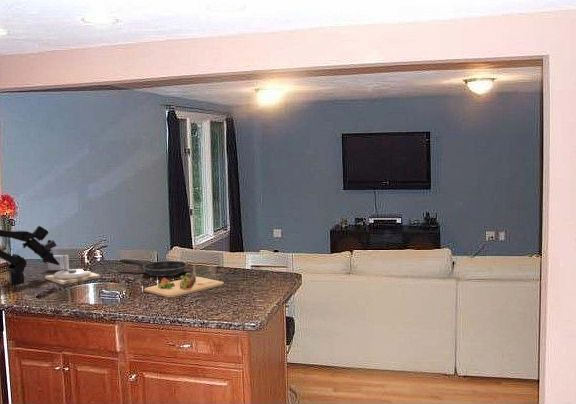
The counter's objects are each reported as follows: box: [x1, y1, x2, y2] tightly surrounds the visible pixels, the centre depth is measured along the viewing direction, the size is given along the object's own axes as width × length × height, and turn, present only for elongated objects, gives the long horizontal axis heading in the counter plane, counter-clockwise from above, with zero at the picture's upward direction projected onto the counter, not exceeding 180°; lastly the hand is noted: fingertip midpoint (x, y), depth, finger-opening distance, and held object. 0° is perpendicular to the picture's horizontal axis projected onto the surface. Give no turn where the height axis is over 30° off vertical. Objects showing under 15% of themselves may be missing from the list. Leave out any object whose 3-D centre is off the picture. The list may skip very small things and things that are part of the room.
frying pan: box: [119, 258, 188, 277], centre depth 342 cm, size 44×25×7 cm, turn 67°
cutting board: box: [144, 272, 225, 299], centre depth 302 cm, size 35×23×8 cm
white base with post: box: [54, 254, 92, 279], centre depth 330 cm, size 19×19×10 cm
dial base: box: [44, 271, 101, 285], centre depth 331 cm, size 22×22×2 cm
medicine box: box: [47, 254, 64, 271], centre depth 355 cm, size 8×4×9 cm, turn 84°
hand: (58, 264), depth 334 cm, fingers closed
